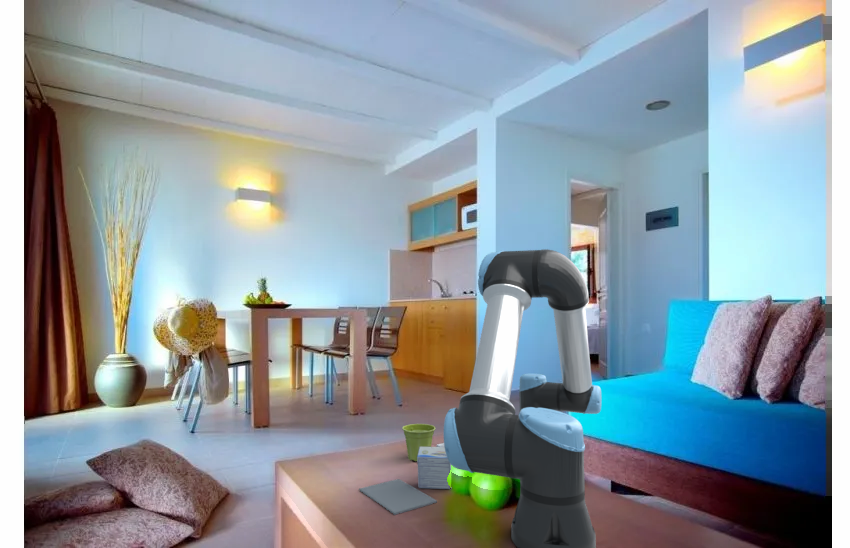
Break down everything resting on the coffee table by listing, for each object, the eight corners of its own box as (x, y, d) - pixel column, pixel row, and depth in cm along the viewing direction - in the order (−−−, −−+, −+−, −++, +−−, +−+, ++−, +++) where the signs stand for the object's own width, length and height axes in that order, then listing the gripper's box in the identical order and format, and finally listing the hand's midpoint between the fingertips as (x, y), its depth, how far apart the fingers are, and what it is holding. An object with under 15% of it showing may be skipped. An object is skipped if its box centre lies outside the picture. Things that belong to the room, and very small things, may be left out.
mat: (437, 502, 106) (437, 500, 106) (394, 514, 100) (394, 513, 100) (398, 480, 120) (398, 478, 120) (359, 490, 113) (359, 488, 113)
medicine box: (452, 478, 118) (451, 446, 116) (451, 490, 113) (450, 457, 111) (420, 477, 119) (419, 445, 117) (418, 488, 114) (416, 456, 112)
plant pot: (399, 454, 140) (399, 424, 140) (430, 452, 142) (430, 422, 142) (405, 465, 131) (405, 432, 131) (439, 462, 133) (439, 430, 133)
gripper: (526, 456, 126) (454, 474, 112) (491, 444, 136) (423, 459, 123) (525, 426, 126) (454, 441, 113) (491, 417, 137) (423, 429, 123)
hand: (438, 450), depth 118 cm, fingers closed
